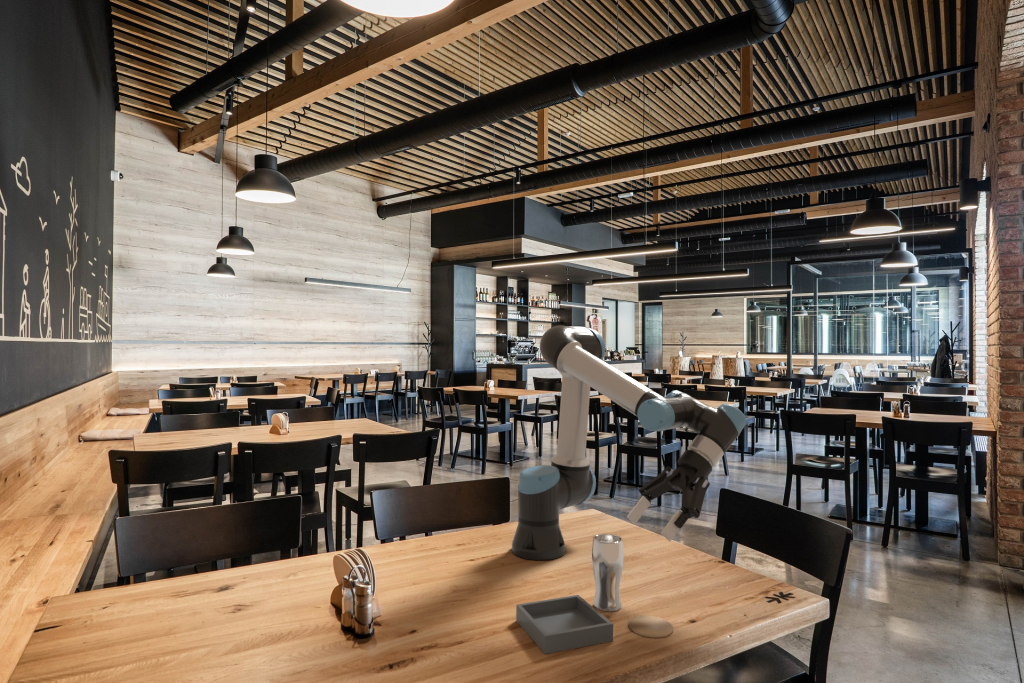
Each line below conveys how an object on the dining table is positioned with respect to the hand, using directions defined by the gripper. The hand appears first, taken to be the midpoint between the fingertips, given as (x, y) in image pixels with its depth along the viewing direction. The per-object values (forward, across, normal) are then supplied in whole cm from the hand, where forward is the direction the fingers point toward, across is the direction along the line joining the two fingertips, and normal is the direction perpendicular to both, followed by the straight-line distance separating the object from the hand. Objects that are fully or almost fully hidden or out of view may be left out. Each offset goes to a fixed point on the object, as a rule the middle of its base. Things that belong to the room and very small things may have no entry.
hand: (647, 528), depth 132 cm
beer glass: (+19, 0, -4) cm, 19 cm away
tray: (+29, -7, +6) cm, 30 cm away
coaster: (+17, -12, -6) cm, 21 cm away
